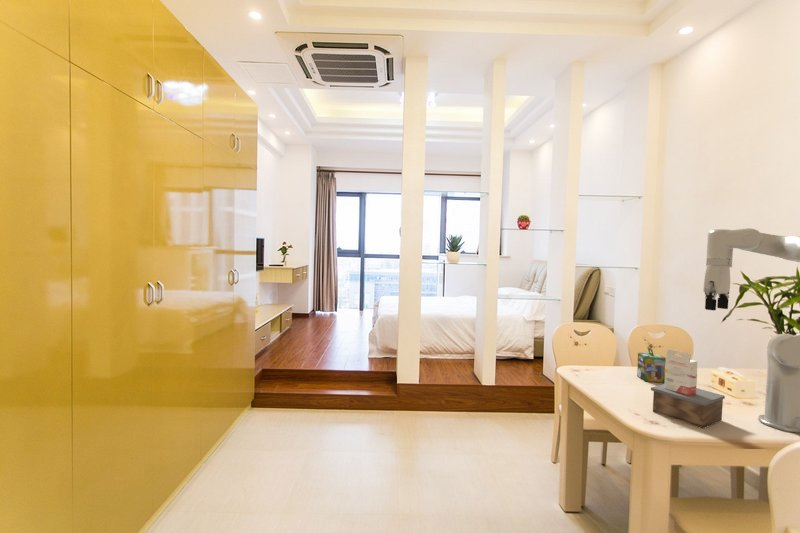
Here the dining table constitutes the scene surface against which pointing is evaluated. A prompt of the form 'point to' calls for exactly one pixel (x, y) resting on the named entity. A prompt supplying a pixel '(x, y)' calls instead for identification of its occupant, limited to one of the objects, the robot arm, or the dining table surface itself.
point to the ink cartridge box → (680, 373)
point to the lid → (698, 398)
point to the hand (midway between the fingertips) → (716, 309)
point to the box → (687, 410)
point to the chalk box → (651, 367)
